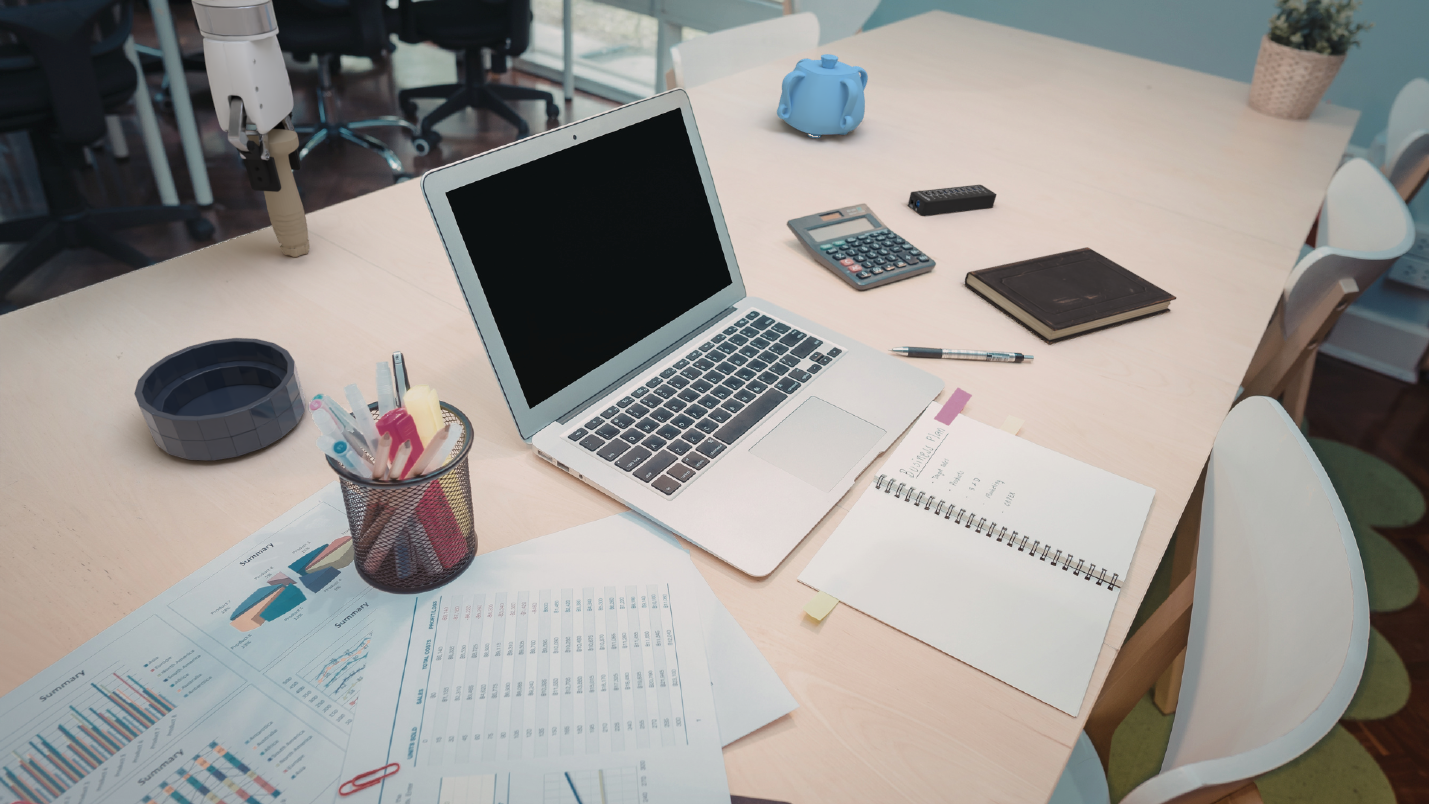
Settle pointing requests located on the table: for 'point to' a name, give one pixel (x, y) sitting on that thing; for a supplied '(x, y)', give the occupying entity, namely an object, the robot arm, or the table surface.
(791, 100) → the decorative pot
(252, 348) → the bowl
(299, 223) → the handle
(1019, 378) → the table surface
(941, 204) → the multiport hub
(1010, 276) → the hardcover book
